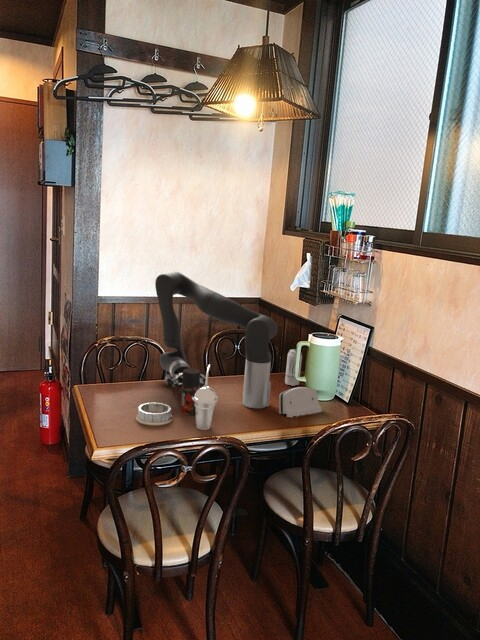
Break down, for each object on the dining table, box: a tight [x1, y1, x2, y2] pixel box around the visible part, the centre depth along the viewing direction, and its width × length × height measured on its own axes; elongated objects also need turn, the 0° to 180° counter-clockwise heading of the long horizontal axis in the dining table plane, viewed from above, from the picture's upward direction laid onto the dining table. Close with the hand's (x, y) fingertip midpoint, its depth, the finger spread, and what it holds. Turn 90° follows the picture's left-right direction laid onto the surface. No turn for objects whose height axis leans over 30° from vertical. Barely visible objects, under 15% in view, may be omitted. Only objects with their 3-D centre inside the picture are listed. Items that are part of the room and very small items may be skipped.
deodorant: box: [180, 367, 201, 416], centre depth 188 cm, size 6×6×15 cm
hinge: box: [278, 386, 323, 418], centre depth 199 cm, size 17×5×10 cm, turn 123°
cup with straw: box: [192, 364, 219, 431], centre depth 176 cm, size 8×9×20 cm
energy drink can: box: [284, 348, 303, 386], centre depth 228 cm, size 6×6×15 cm
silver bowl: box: [135, 401, 173, 427], centre depth 181 cm, size 12×12×4 cm
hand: (189, 386), depth 189 cm, fingers open, 8 cm apart
